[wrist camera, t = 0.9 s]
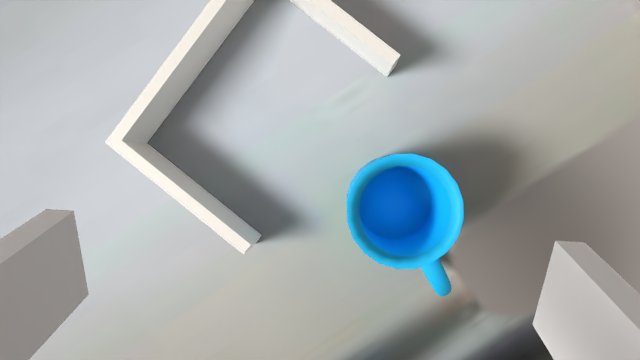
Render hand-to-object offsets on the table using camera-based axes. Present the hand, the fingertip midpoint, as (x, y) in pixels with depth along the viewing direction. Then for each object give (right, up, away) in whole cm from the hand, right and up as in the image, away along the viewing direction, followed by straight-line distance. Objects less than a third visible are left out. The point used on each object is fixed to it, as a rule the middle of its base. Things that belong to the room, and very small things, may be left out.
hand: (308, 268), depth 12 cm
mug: (+8, -1, +26) cm, 28 cm away
